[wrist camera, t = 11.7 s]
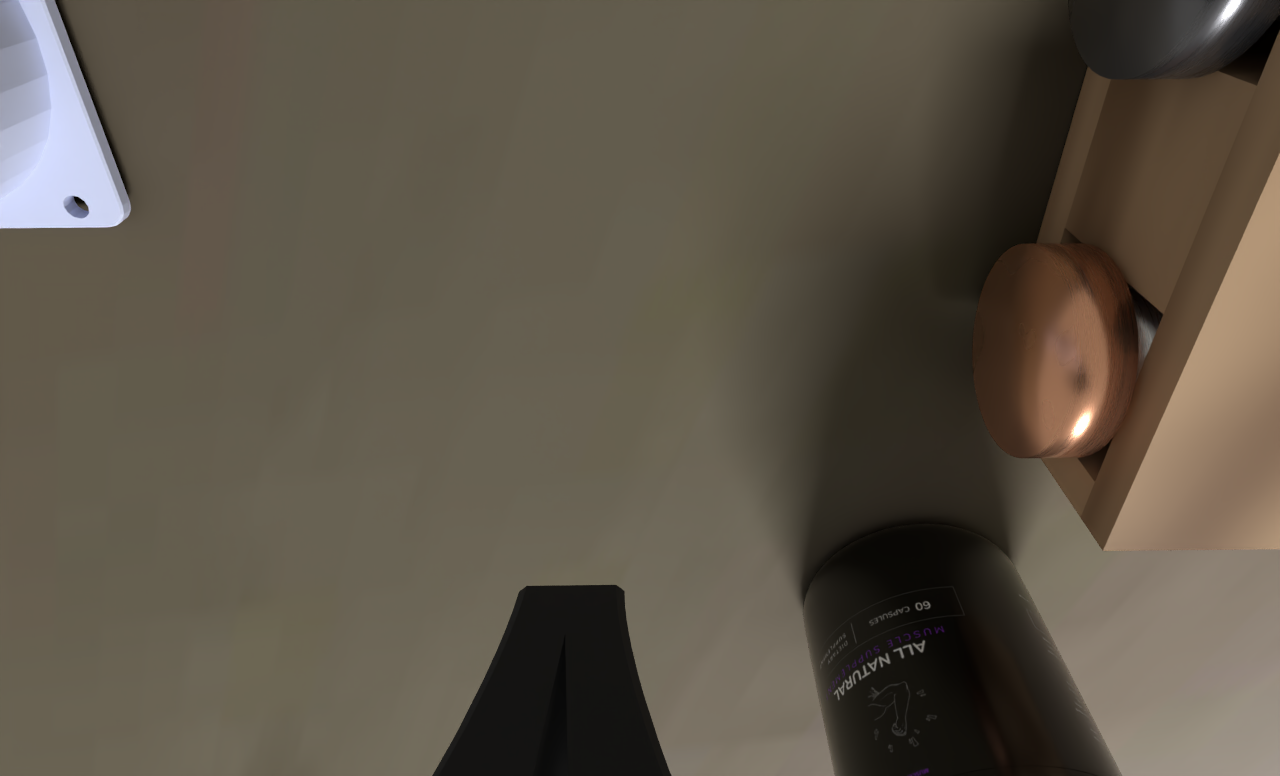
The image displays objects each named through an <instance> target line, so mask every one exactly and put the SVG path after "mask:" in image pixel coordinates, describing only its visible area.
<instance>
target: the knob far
mask: <svg viewBox="0 0 1280 776" xmlns="http://www.w3.org/2000/svg"><path fill="white" fill-rule="evenodd" d="M1162 317H1163V313H1161V312H1160V311H1159V310H1158V309H1157V308H1156V307H1155V306H1154V305H1152V304H1151V303H1150V302H1149V301H1148V300H1147V299H1146V298H1144V297H1143V296H1142V295H1141V294H1140V293H1139V292H1138V291H1136V290H1135V289H1134V288H1133V287H1132V286H1131V285H1129V286H1128V285H1127V283H1126V280H1125V278H1124V276H1123V275H1122V273H1121V271H1120V269H1119V268H1118V266H1117V265H1116V263H1115V262H1114V261H1113V259H1112V258H1111V257H1110V256H1109V255H1108V254H1107V253H1105V252H1104V251H1103V250H1101V249H1100V248H1098V247H1096V246H1093V245H1091V244H1085V243H1036V244H1019V245H1016V246H1013V247H1011V248H1010V249H1008V250H1007V251H1006V252H1005V253H1004V254H1003V255H1001V256H1000V258H999V259H998V260H997V262H996V263H995V264H994V266H993V268H992V269H991V271H990V273H989V275H988V277H987V279H986V281H985V284H984V287H983V289H982V292H981V295H980V299H979V302H978V307H977V311H976V317H975V323H974V331H973V346H972V363H973V376H974V385H975V390H976V396H977V400H978V404H979V408H980V411H981V414H982V417H983V420H984V422H985V425H986V427H987V429H988V431H989V433H990V434H991V436H992V438H993V439H994V441H995V442H996V443H997V444H998V446H999V447H1000V448H1001V449H1002V450H1004V451H1005V452H1006V453H1007V454H1009V455H1011V456H1014V457H1018V458H1078V457H1086V456H1089V455H1092V454H1094V453H1096V452H1097V451H1099V450H1101V449H1102V448H1103V447H1104V446H1105V445H1106V444H1108V442H1109V441H1110V440H1111V439H1112V438H1113V436H1114V435H1115V434H1116V432H1117V430H1118V429H1119V427H1120V426H1121V424H1122V422H1123V420H1124V417H1125V415H1126V413H1127V410H1128V408H1129V405H1130V402H1131V399H1132V395H1133V391H1134V387H1135V383H1136V380H1137V378H1138V375H1139V373H1140V370H1141V368H1142V366H1143V363H1144V361H1145V358H1146V356H1147V353H1148V351H1149V348H1150V346H1151V344H1152V341H1153V339H1154V336H1155V334H1156V331H1157V329H1158V326H1159V324H1160V322H1161V319H1162Z"/></svg>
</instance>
